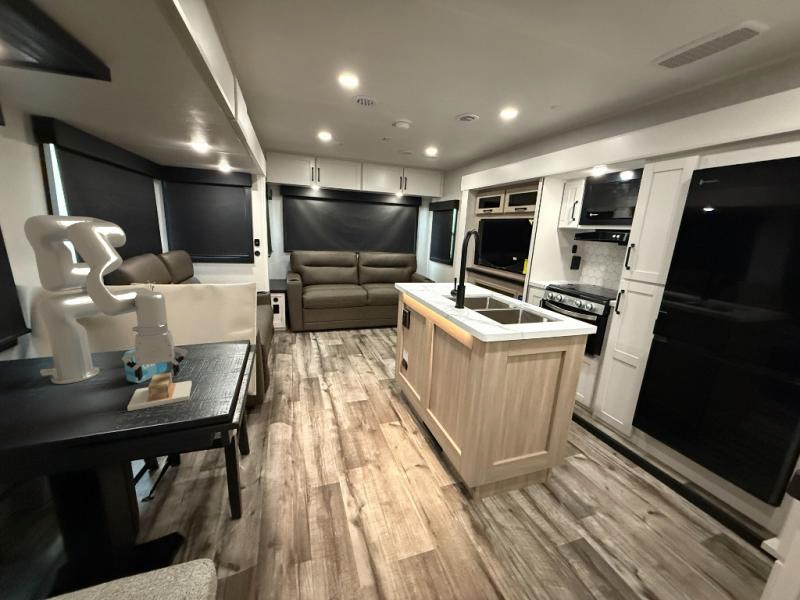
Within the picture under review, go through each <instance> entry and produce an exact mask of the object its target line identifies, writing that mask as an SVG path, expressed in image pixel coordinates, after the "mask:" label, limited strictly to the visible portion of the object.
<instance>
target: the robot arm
mask: <svg viewBox="0 0 800 600" xmlns="http://www.w3.org/2000/svg"><path fill="white" fill-rule="evenodd" d="M23 232H24V235H25V237H26V239H27V241H28V243H29V244H30V246H31V247H32V250H33V253H34V255H35V261H36V267H37V273H38V274H37V275H38V278H39V282H40V285H41V287H42V288H43V290H45V291H47V292H51V293H52V292H54V293H55V292H56V293H57V292H59V293H60V292H68V291H69V292H70V291H75V290H77V291H78V290H81V291H78V292H70V293H63V294H55V295H52V296H47V297H45V298H42V300H40V301H39V302H38V305H37V310H38V313H39V315H40V317H41V319H42V321H43V323H44V327H45V328H46V332H47V336H48V340H49V344H50V349H51V354H52V358H53V364H54V367H53V368H44V369H40V371H39V374H40V375H41V377H48V376H51V378H50V381H51V383H52V384H55V385H56V384H57V385H67V384H74V383H78V382H81V381H86V380H88V379H91V378H93V377H95V376H97V375H98V374H100V367H97V366H94V365H93V359H92V354H91V349H90V343H89V338H88V332H87V328H85V327H84V325H82V324H80V323H79V322H78V321H77V320H79V319H82V318H86V317H87V318H88V317H92V316H96V315H99V314H103V315H106V316H110V317H116V316H120V315H124V314H129V313H133V312H135V313H136V321H137V326H133V327H131V328H132V329H131V330H132V332H136V333H137V334H136V335H135V339H134V349H135V351H134V352H132V353H129V354H127V355H125V356H123V355H122V357H121V360H122V361H123V362H125V363H126V365H127V366H129V367H131V368H133V370H135V377H136V378H138V381H140V380H141V379H142V377H143V374H142V367H141V365H148V364H157V363H165V362H166V363H169V362H170V363H172V364H173V365H172V370H173V376H174V377H177V375H178V373H180V363H181V362H182V361H183V360H184V359H185V357H186V355H187V353H188V349H184V348H181V347H177V346H175V343H174V339H173V334H172V333H171V332H172V331H170V330H168V328H169V327H168V319H167V318H168V316H167V309H166V307H167V306H166V300H165V299H166V297H165V295H164V293H162V292H160V291H153V290H150V289H148V288H145V287H134V288H127V289H126V288H125V289H121V290H114V291H110V290H109V289H108V288H107V286H106V285H105V284H104V276H107V275H108V274H110V273H112V272H114V271H116V270H118V269H119V268H120V267H121V266H122V264H123V262H124V261H123V259H122V257H121V256H120V254H119V253H118V251H117V250H116V248H120V247H123V246H124V245H126V242H127V236H126V233H125V232H124V230H123V229H122V227H120V226H119V225H118V224H116V223H115V222H112V221H111V222H110V221H107V220H103V219H100V218H95V217H92V216H91V217H90V216H76V215H75V216H72V215H59V214H58V215H56V214H40V215H33V216H31V217H28V218H27V219H26V220H25V222H24V225H23ZM64 242H70V243H71V245H72V246H73V247H74V249H75V250H76V251H77V253H78V254H79V255H80V256H79V257H81V259H82V260H83V261H84V262H74V258H73V253H72V251H71V249H70V248H69V247H68V246H67V245H66V244H65V243H64ZM176 353H179V354H180V356H179V357H177V356H176ZM134 356H135V361H136V363H135V362H133V361H131V360H130V358H132V357H134Z"/></svg>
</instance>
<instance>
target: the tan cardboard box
mask: <svg viewBox="0 0 800 600" xmlns="http://www.w3.org/2000/svg"><path fill="white" fill-rule="evenodd" d="M172 383H173V378H172V372H164V373H162V374H157V375H153V377H152V378H151V380H150V382H149V384H148V386H147V387H148V389H149V396H150V401H151V400H156V399H162V398H168V397H169V396H170V392H171V389H172V386H173V384H172Z"/></svg>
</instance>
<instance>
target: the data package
mask: <svg viewBox="0 0 800 600" xmlns="http://www.w3.org/2000/svg"><path fill="white" fill-rule="evenodd" d="M134 351H135V348H133V349H130V350H128V351H126V352H124V353H123V355H122V357H123V356H125V355H127V354H129V353H132V352H134ZM130 360H131V361H133V362H135V363H136V361H135V356H134V357H132V358H130ZM123 362H124V361H123ZM167 363H168V362H165V363H157V364H148V365H141V367H142V374H143V377H142V379H141V380H140V381H138V378H136V377H135V370H133V368H131V367H129V366H127V365H126V363H125V362H124V363H123V364H124V370H125V376H126V380H127V381H128V382H131V383H137V384H141V383H144V382H145V381H148V380H150V379H152V377H153V375H157V374H164V373H166V372H167V369H168V364H167Z"/></svg>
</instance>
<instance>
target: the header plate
mask: <svg viewBox="0 0 800 600" xmlns="http://www.w3.org/2000/svg"><path fill="white" fill-rule="evenodd" d="M172 384H173V386H172V389H171V392H170V396H169V397H168V398H162V399H156V400H151V401H150V396H149V389H148V386H147V387H142V388H137V389H136V390H135V391H134V392H133V395H132V396H131V399H130V401H129V403H128V405H127V406H126V408H127V412H131V411H136V410H141V409H147V408H153V407H158V406H163V405H169V404H175V403H181V402H183V401H184V402H185V401H189V399H190V396H191V395H190V394H191V390H192V386H193V385H192V384H193V382H192V380H185V381H180V382H174V383H173V382H172Z"/></svg>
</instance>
